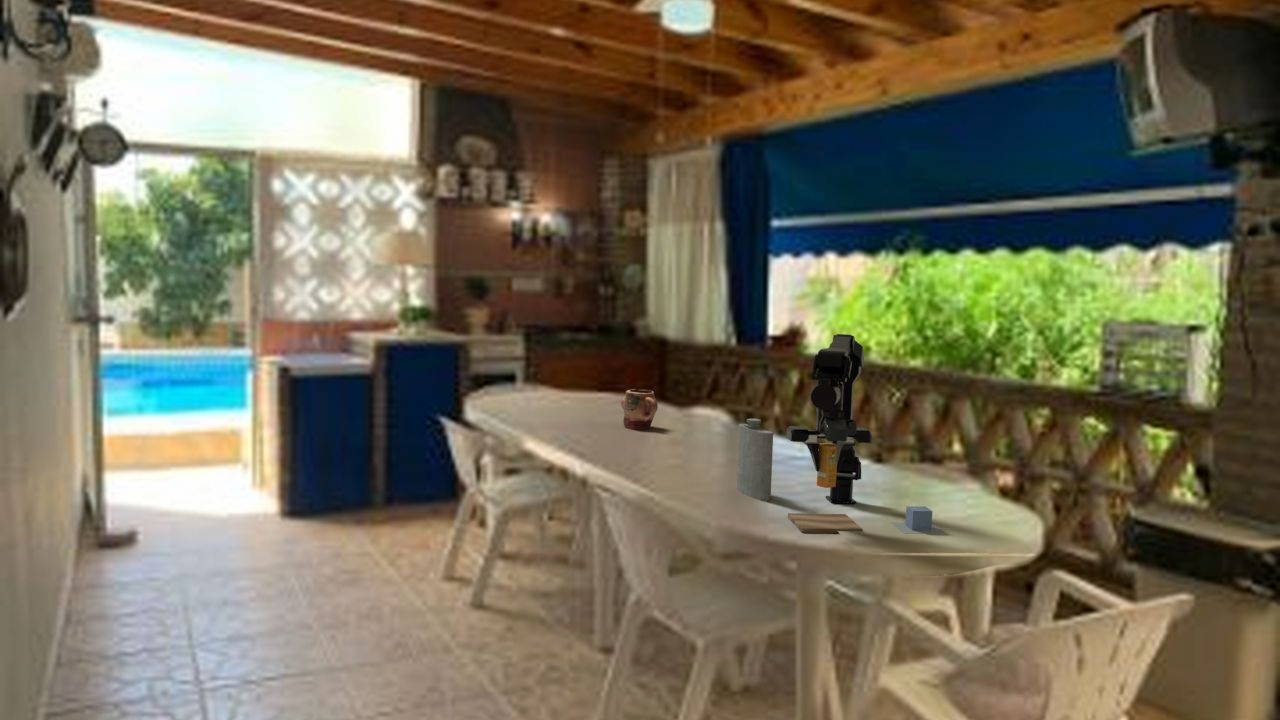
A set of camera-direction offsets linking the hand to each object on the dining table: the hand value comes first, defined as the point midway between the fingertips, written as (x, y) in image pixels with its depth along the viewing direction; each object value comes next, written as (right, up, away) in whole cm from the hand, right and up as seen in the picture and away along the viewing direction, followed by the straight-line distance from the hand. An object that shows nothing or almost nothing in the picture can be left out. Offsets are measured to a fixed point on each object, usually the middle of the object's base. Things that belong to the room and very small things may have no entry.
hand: (826, 471), depth 234 cm
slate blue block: (+21, -13, -1) cm, 24 cm away
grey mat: (+21, -14, -1) cm, 25 cm away
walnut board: (0, -13, +1) cm, 13 cm away
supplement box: (0, -4, 0) cm, 4 cm away
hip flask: (-14, -10, +32) cm, 36 cm away
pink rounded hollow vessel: (-43, 0, +138) cm, 144 cm away
